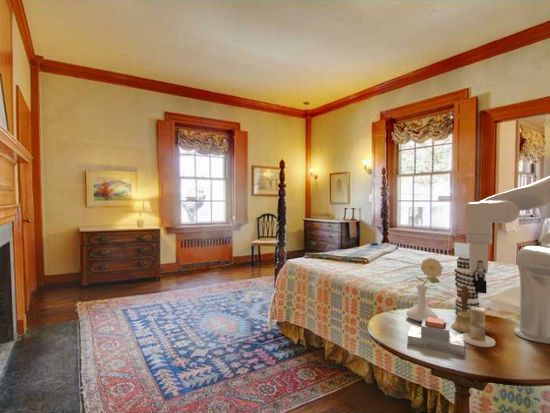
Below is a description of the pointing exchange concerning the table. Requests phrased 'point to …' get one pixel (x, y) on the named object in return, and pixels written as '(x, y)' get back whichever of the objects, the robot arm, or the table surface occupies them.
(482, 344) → the coaster
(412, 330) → the base
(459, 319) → the hand bell
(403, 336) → the table surface
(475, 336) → the pale wood brick
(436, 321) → the button
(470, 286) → the decorative candle
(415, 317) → the flower in vase
